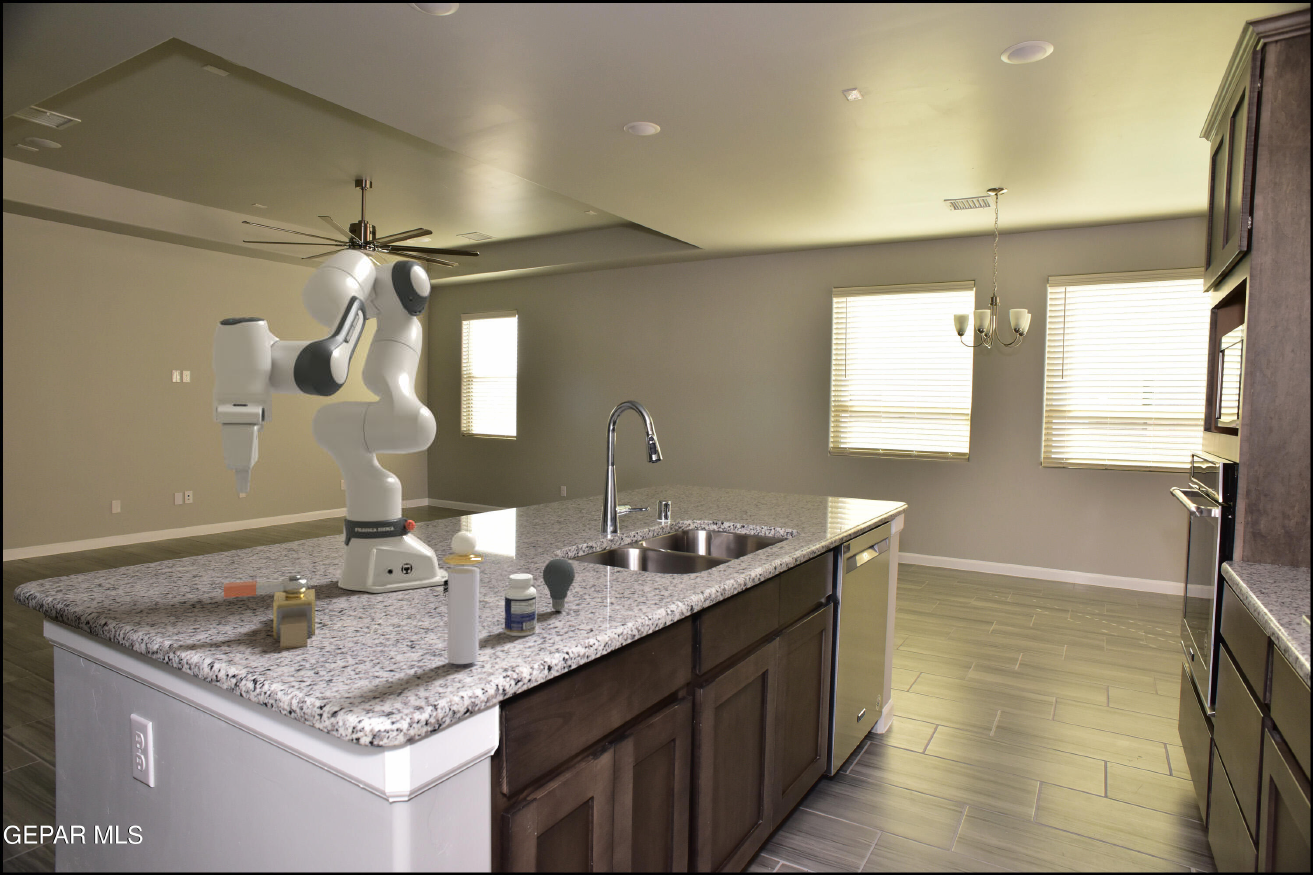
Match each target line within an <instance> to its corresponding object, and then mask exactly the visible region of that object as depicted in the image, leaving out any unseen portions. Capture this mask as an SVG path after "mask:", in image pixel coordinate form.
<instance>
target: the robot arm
mask: <svg viewBox="0 0 1313 875" xmlns="http://www.w3.org/2000/svg"><path fill="white" fill-rule="evenodd" d="M301 292H302V293H301V299H302V303H303V306H304V309H305V310H306V312H307V313H308V314H309V315H310V317H311V318H312V319H313V320H314V321H316V323H318V324H320V325H321V326H323V327H326V328H329V330H328V332H327V334H326V336H324V337H323V338H322V337H321V338H320V339H319V338H318V339H313V340H281V339H280V338H278V337H276V336H275V335H274V334H273V333H271V331H270V330H269V325H268V322H267V320H265V319H263V318H261V317H255V316H253V317H251V316H249V317H248V316H247V317H246V316H245V317H229V318H228V317H227V318H224V319H222V320H220V321H219V322H217V325H216V327H215V332H214V334H213V340H212V341H213V343H212V370H213V373H214V378H215V379H214V381H215V382H214V386H213V389H212V421H213V422H216V423H217V424H220V433H221V434H220V435H221V442H222V444H221V445H222V450H223V458H224V464H225V469H227V470H228V471H234V476H235V481H236V484H235V485H236V493H238V494H247V493H248V492H249V491H250V486H251V484H250V483H251V482H250V481H251V474H252V473H251V472H252V468H253V466H254V465H255V464H256V462H257V461H258V459H259V435H258V434H259V432H260V433H262V432H264V431H265V430H264V429H265V428H264V426H265V423H269V422H272V421H273V411H272V410H273V409H272V408H273V404H272V402H273V397H272V396H273V395H272V394H283V395H309V396H316V397H317V396H318V397H325V398H326V397H328V398H329V397H331V396H333V395H335V394H336V393H337V392H339V391H340V390H341V389H342V388H343V387H344V385H345V384H346V382H347V379H348V376H349V372H350V366H351V361H352V359H353V356H354V354H355V352H356V349H357V347H358V344H359V342H360V340H361V337H362V335H363V332H364V329H365V326H366V324H367V321H368V320H370V319H376V329H375V331H374V334H373V336H372V339H371V341H370V343H369V347H368V351H367V353H366V357H365V360H364V363H363V364H364V365H363V367H362V370H361V379H362V382H363V385H364V386H365V388H366V389H367V390H369V392H371V393H372V394H373V395H375V396H377V397H378V398H379V399H378V400H376V401H374V400H373V401H355V400H353V401H350V400H349V401H347V400H344V401H339V402H332V403H331V402H330V403H327V404H323V405H321V406H319V408H318V409H317V410H316V411H315V412H314V414H313V417H312V420H311V427H310V428H311V434H312V437H313V438H314V441H315V442H316V444H317V445H318V446H319V447H320V448H321V449H323V450H324V451H325V452H326V453H327V454H329V456H331V458H332V459H333V461H334V462H335V463H336V465H337V466H338V469H339V470H340V473H341V476H342V479H343V481H344V489H345V504H346V506H345V507H346V513H345V514H346V515H345V516H346V518H345V519H343V520H344V522H343V543H344V557H343V563H342V567H341V568H342V569H341V572H340V575H339V576H340V577H339V580H338V583H337V586H338V587H339V588H342V589H345V590H350V591H362V592H368V593H371V594H372V593H373V594H379V593H388V592H395V591H401V590H410V589H411V590H412V589H417V588H425V587H433V586H439V585H441V586H443V582H444V581H445V580H447V579H448V571H446V570H444V569H442V568H439V563H438V558H437V554H436V553H435V551H434V550H433V548H431V546H429V545H427V544H426V543H425V542H423V541H422V540H420V539H419V538H418V537H416V536H415V535H413V534H412V531H414V530H415V529H416V527H417V526H416V523H415V522H414V521H413V520H411V519H409V518H406V517H405V516H402V501H403V499H402V492H403V491H402V484H401V481H400V479H399V478H398V477H397V476H396V475H395V474H394V473H392V472H390V471H389V470H387V469H385V468H384V467H382V466H381V465H380V463H379V461H378V459H377V455H376V454H397V455H398V454H400V455H401V454H403V455H405V454H409V453H416V452H420V451H421V452H422V451H425V450H427V449H428V448H429V447H430V446H431V445H432V443H433V442H434V440H435V438H436V433H437V423H436V419H435V416H434V414H433V413H432V411H431V410H430V409H429V407H427V406H426V405H424V404H423V403H422V402H421V401H420V400H419V398H418V396H417V394H416V390H415V385H416V379H417V378H416V377H417V371H418V367H419V363H420V358H421V353H422V347H423V328H422V324H421V322H420V321H419V319H417V317H419V316H421V315H422V314H423V313H424V312H425V310H426V305H427V304H428V302H429V299H430V296H431V292H432V283H431V279H430V275H429V273H428V272H427V271H426V269H425V267H423V265H421V263H419V262H418V261H416V260H410V259H407V260H405V259H404V260H398V261H395V262H391V263H383V264H379V265H374V263H373V261H372V260H371V259H370V258H369V257H368V256H367V255H366V254H364V253H363V252H361V251H358V250H355V249H343V250H341V251H339V252H337V253H336V254H334V255H332V256H330V257H329V258H328V259H326V261H324V262H323V263H322V264H321V265H320V266H319V267H318V268H317V269H316V270H315V271H314V272H313V273H312V274H311V275H310V277H309V278H308V279H307V281H305V284H304V285H303V288H302V291H301Z"/></svg>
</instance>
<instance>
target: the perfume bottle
mask: <svg viewBox="0 0 1313 875" xmlns="http://www.w3.org/2000/svg"><path fill="white" fill-rule="evenodd" d="M450 545H451V549H452V551H453V554H452V553H451V554H448V555H445V556H443V563H445V564H448V565H452V566H455V565H457V566H459V567H453V568H450V569H448V570H447V573H448V579H447V580H445V581H444V582H443V584H442V586H443V594H442V595H443V598H442V599H443V601H444V598H447V619H446V621H447V626H446V628H447V632H446V633H447V635H446V636H447V638H446V640H447V644H446V645H447V646H446V647H447V649H446V651H447V653H446V654H447V657H446V658H447V662H448V663H450V664H455V665H464V664H471V663H473V662H474V663H475V662H476V661H478V659H479V654H480V653H479V646H480V645H479V641H480V638H479V635H480V634H479V633H480V632H479V628H480V625H479V624H480V623H479V622H480V621H479V620H480V619H479V618H480V600H479V599H480V569H479V568H477V567H473V566H466V565H476V564H479V563H482V562H484V555H482V554H479V553H474V552H475V550H476V547H477V539H476V537H475V536H474V535H473V533H471V532H470V531H467V530H466V531H459V532H457V533H456V534H455V535H453V537H452V539H451V544H450ZM446 593H447V594H446ZM446 595H447V596H446Z"/></svg>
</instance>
